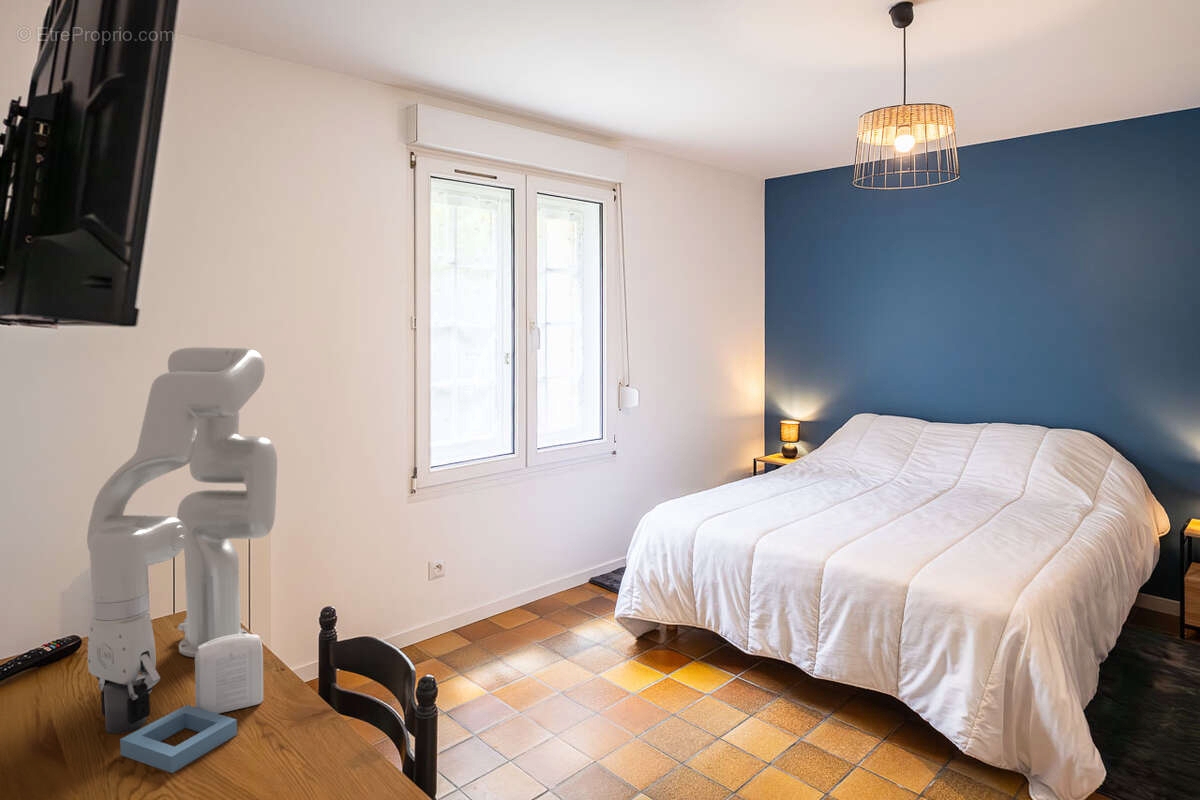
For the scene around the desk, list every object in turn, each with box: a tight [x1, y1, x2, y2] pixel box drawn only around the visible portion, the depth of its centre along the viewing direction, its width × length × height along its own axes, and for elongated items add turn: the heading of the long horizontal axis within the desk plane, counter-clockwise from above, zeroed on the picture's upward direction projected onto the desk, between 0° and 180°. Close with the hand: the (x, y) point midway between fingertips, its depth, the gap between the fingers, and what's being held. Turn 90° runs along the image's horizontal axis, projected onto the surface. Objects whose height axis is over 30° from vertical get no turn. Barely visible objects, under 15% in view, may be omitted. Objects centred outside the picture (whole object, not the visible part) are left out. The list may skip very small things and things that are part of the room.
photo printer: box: [194, 633, 264, 714], centre depth 121 cm, size 10×4×12 cm, turn 123°
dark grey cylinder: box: [104, 680, 148, 735], centre depth 116 cm, size 6×6×7 cm
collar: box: [119, 704, 238, 774], centre depth 110 cm, size 11×11×2 cm
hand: (126, 714), depth 116 cm, fingers closed on dark grey cylinder, 5 cm apart
